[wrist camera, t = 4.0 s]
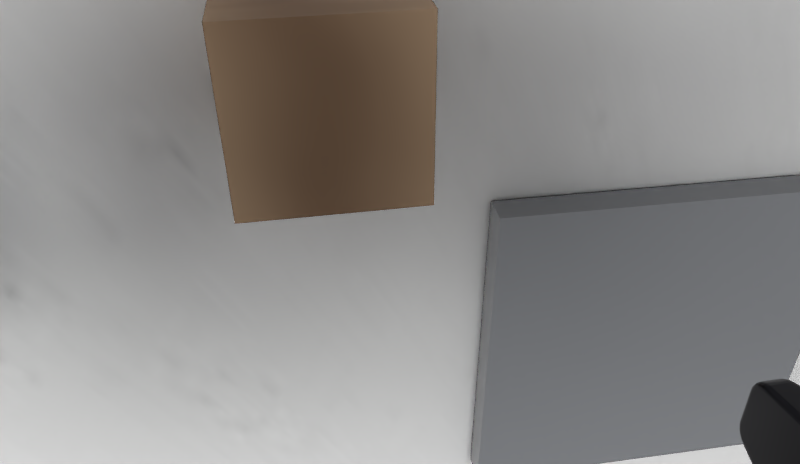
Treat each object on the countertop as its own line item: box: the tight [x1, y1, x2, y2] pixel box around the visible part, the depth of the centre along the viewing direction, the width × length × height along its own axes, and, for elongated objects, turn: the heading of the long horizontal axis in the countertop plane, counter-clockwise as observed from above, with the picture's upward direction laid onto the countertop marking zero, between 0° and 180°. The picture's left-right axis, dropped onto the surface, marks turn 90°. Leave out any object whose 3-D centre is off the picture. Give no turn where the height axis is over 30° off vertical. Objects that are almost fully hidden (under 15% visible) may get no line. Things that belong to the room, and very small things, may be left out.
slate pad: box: [471, 175, 800, 464], centre depth 26 cm, size 12×12×1 cm
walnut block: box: [202, 0, 438, 224], centre depth 17 cm, size 4×4×4 cm
